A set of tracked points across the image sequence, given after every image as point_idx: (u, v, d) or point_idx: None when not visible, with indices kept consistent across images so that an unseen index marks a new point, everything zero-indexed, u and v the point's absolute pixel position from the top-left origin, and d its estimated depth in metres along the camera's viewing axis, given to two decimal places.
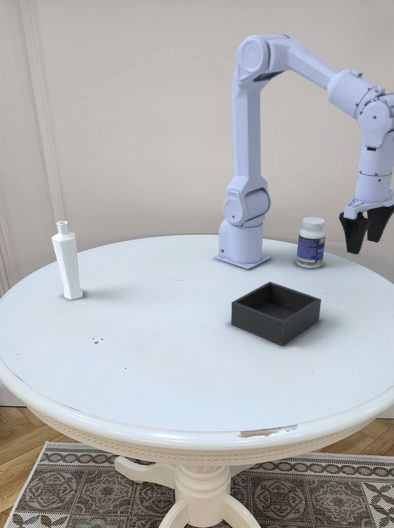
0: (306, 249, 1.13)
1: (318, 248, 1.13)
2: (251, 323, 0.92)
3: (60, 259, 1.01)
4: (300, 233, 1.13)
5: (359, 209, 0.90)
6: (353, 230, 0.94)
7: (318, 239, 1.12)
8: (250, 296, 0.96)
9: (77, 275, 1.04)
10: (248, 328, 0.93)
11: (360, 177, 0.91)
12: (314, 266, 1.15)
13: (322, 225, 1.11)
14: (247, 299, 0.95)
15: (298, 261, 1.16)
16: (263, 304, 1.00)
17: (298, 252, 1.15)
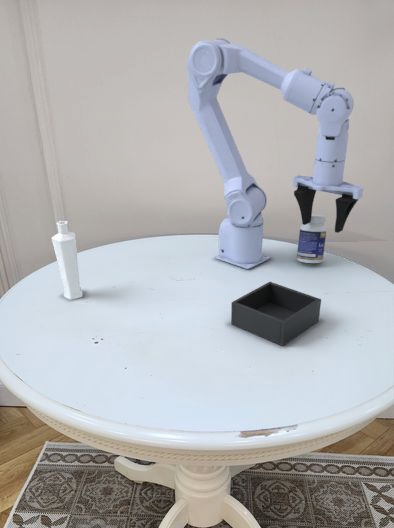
0: (307, 243, 1.14)
1: (319, 242, 1.13)
2: (251, 323, 0.92)
3: (60, 259, 1.01)
4: (301, 227, 1.14)
5: (298, 180, 1.08)
6: None
7: (319, 233, 1.13)
8: (250, 296, 0.96)
9: (77, 275, 1.04)
10: (248, 328, 0.93)
11: None
12: (315, 261, 1.15)
13: (323, 219, 1.13)
14: (247, 299, 0.95)
15: (299, 256, 1.16)
16: (263, 304, 1.00)
17: (299, 247, 1.16)
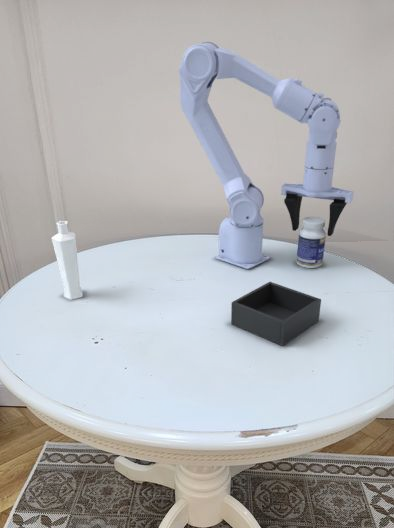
0: (306, 249, 1.13)
1: (319, 248, 1.13)
2: (251, 323, 0.92)
3: (60, 259, 1.01)
4: (300, 233, 1.13)
5: (287, 188, 1.10)
6: None
7: (318, 240, 1.12)
8: (250, 296, 0.96)
9: (77, 275, 1.04)
10: (248, 328, 0.93)
11: None
12: (314, 266, 1.15)
13: (322, 225, 1.11)
14: (247, 299, 0.95)
15: (298, 261, 1.16)
16: (263, 304, 1.00)
17: (298, 252, 1.15)
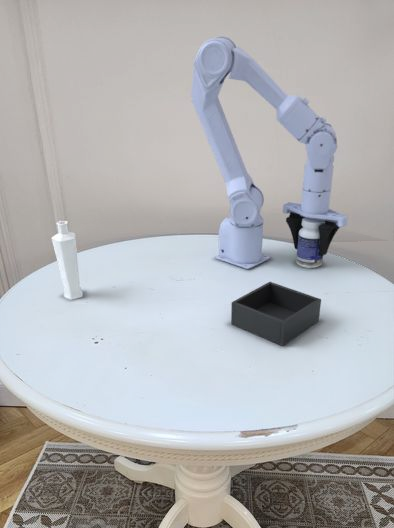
0: (305, 249, 1.13)
1: (318, 248, 1.13)
2: (251, 323, 0.92)
3: (60, 259, 1.01)
4: (300, 233, 1.13)
5: None
6: None
7: (317, 239, 1.12)
8: (250, 296, 0.96)
9: (77, 275, 1.04)
10: (248, 328, 0.93)
11: (323, 195, 1.07)
12: (314, 266, 1.15)
13: None
14: (247, 299, 0.95)
15: (298, 261, 1.16)
16: (263, 304, 1.00)
17: (298, 252, 1.15)
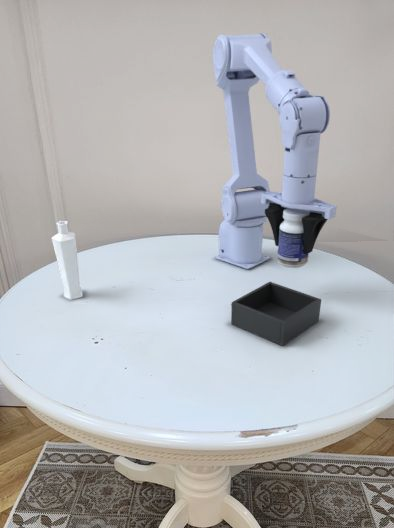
0: (288, 246, 0.96)
1: None
2: (251, 323, 0.92)
3: (60, 259, 1.01)
4: (281, 227, 0.96)
5: None
6: None
7: (301, 234, 0.95)
8: (250, 296, 0.96)
9: (77, 275, 1.04)
10: (248, 328, 0.93)
11: (307, 181, 0.90)
12: (298, 265, 0.98)
13: None
14: (247, 299, 0.95)
15: (279, 260, 0.99)
16: (263, 304, 1.00)
17: (279, 249, 0.99)
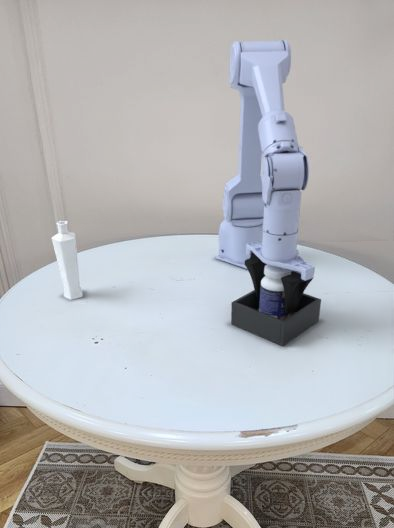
0: (266, 302, 0.92)
1: (282, 302, 0.91)
2: (251, 323, 0.92)
3: (60, 259, 1.01)
4: (261, 282, 0.92)
5: (309, 266, 0.86)
6: (293, 290, 0.89)
7: (280, 292, 0.90)
8: (250, 296, 0.96)
9: (77, 275, 1.04)
10: (248, 328, 0.93)
11: (285, 239, 0.85)
12: None
13: (286, 275, 0.89)
14: (247, 299, 0.95)
15: None
16: None
17: (259, 304, 0.94)
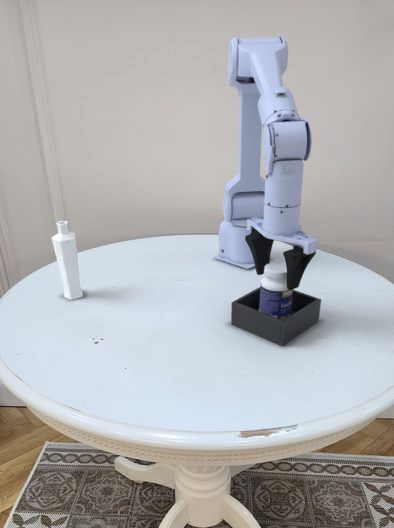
0: (266, 302, 0.92)
1: (282, 302, 0.91)
2: (251, 323, 0.92)
3: (60, 259, 1.01)
4: (261, 282, 0.92)
5: (312, 240, 0.84)
6: (296, 265, 0.87)
7: (280, 292, 0.90)
8: (250, 296, 0.96)
9: (77, 275, 1.04)
10: (248, 328, 0.93)
11: (287, 211, 0.83)
12: None
13: (286, 275, 0.89)
14: (247, 299, 0.95)
15: None
16: None
17: (259, 304, 0.94)
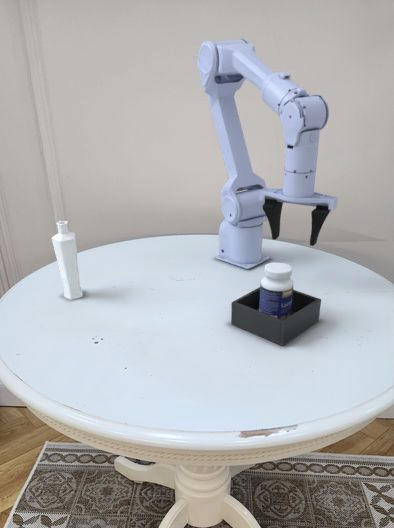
0: (266, 302, 0.92)
1: (282, 302, 0.91)
2: (251, 323, 0.92)
3: (60, 259, 1.01)
4: (261, 282, 0.92)
5: None
6: None
7: (280, 292, 0.90)
8: (250, 296, 0.96)
9: (77, 275, 1.04)
10: (248, 328, 0.93)
11: (311, 176, 0.95)
12: None
13: (286, 275, 0.89)
14: (247, 299, 0.95)
15: None
16: None
17: (259, 304, 0.94)
